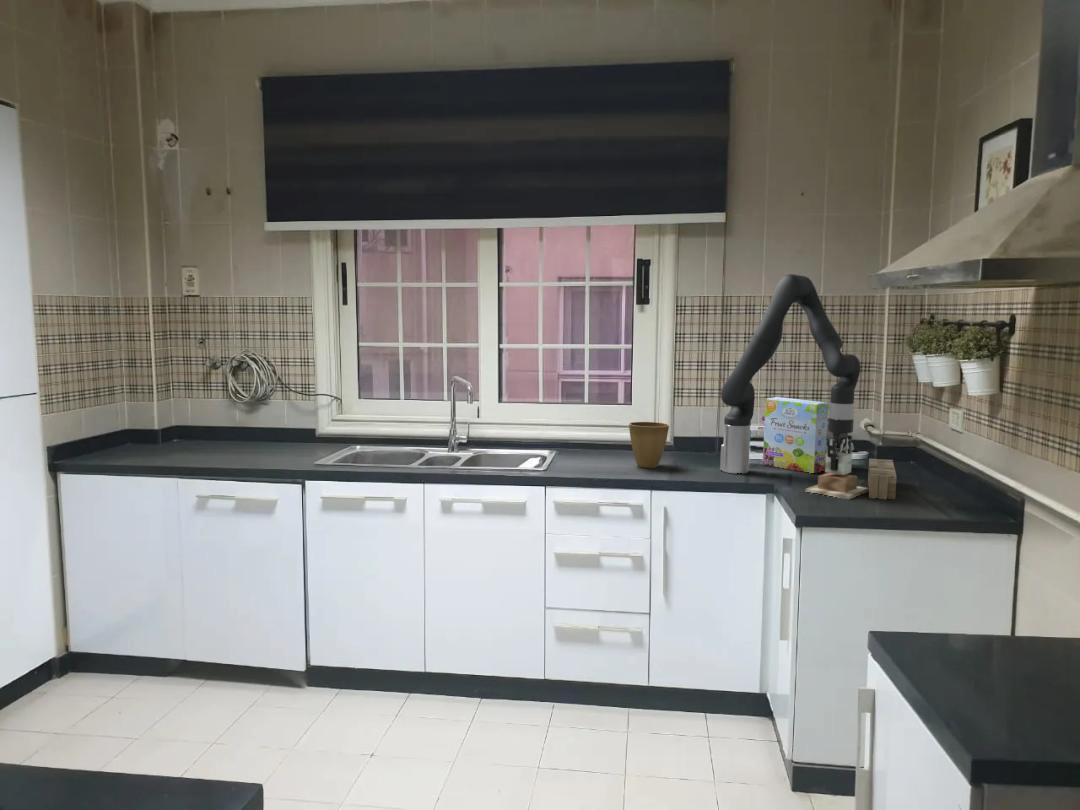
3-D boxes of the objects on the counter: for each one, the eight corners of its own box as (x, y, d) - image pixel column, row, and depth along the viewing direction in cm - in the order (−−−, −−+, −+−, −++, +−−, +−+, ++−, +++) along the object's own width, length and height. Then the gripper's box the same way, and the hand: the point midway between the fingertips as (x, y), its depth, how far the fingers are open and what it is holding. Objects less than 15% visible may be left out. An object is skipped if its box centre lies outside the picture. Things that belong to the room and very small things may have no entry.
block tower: (895, 503, 243) (892, 482, 270) (897, 477, 242) (894, 458, 268) (867, 501, 246) (867, 480, 273) (869, 474, 245) (869, 456, 271)
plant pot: (668, 470, 285) (669, 427, 283) (626, 469, 287) (627, 426, 285) (667, 463, 299) (669, 421, 297) (628, 461, 302) (629, 420, 300)
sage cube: (825, 472, 252) (826, 453, 252) (832, 469, 257) (833, 451, 256) (843, 474, 248) (844, 456, 248) (851, 472, 253) (852, 453, 252)
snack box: (760, 465, 297) (763, 398, 294) (773, 462, 303) (776, 396, 300) (813, 474, 281) (817, 403, 278) (826, 471, 287) (829, 401, 284)
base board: (805, 492, 252) (806, 475, 252) (826, 484, 264) (827, 469, 263) (848, 499, 243) (849, 482, 242) (868, 491, 254) (869, 475, 254)
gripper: (838, 414, 258) (835, 464, 260) (820, 417, 248) (817, 470, 250) (861, 416, 253) (858, 467, 255) (843, 420, 243) (840, 473, 245)
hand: (838, 468), depth 252 cm, fingers closed on sage cube, 5 cm apart
